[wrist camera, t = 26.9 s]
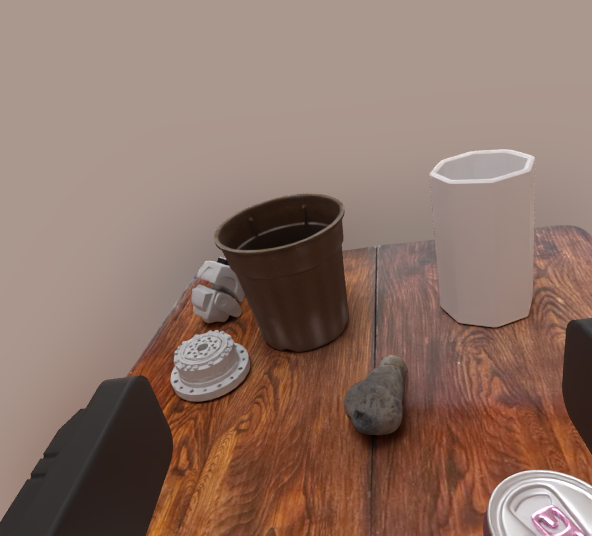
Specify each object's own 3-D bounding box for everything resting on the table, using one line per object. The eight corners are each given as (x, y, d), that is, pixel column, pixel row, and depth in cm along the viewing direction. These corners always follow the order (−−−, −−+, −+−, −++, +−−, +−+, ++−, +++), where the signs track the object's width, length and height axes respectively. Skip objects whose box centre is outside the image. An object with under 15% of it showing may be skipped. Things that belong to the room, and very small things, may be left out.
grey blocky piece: (236, 331, 71) (256, 267, 71) (201, 325, 67) (222, 257, 67) (214, 320, 75) (232, 259, 76) (179, 314, 71) (198, 250, 71)
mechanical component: (229, 407, 54) (263, 351, 62) (218, 378, 52) (255, 324, 60) (159, 399, 58) (199, 348, 66) (146, 371, 56) (189, 322, 64)
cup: (473, 273, 68) (467, 145, 60) (552, 296, 60) (557, 151, 51) (422, 309, 63) (408, 175, 55) (500, 340, 55) (498, 188, 46)
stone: (387, 374, 55) (329, 354, 52) (419, 349, 52) (358, 326, 49) (404, 459, 48) (337, 441, 45) (441, 435, 44) (372, 414, 42)
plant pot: (284, 384, 56) (249, 264, 49) (228, 329, 69) (194, 228, 62) (388, 322, 62) (372, 208, 55) (319, 282, 75) (298, 186, 68)
